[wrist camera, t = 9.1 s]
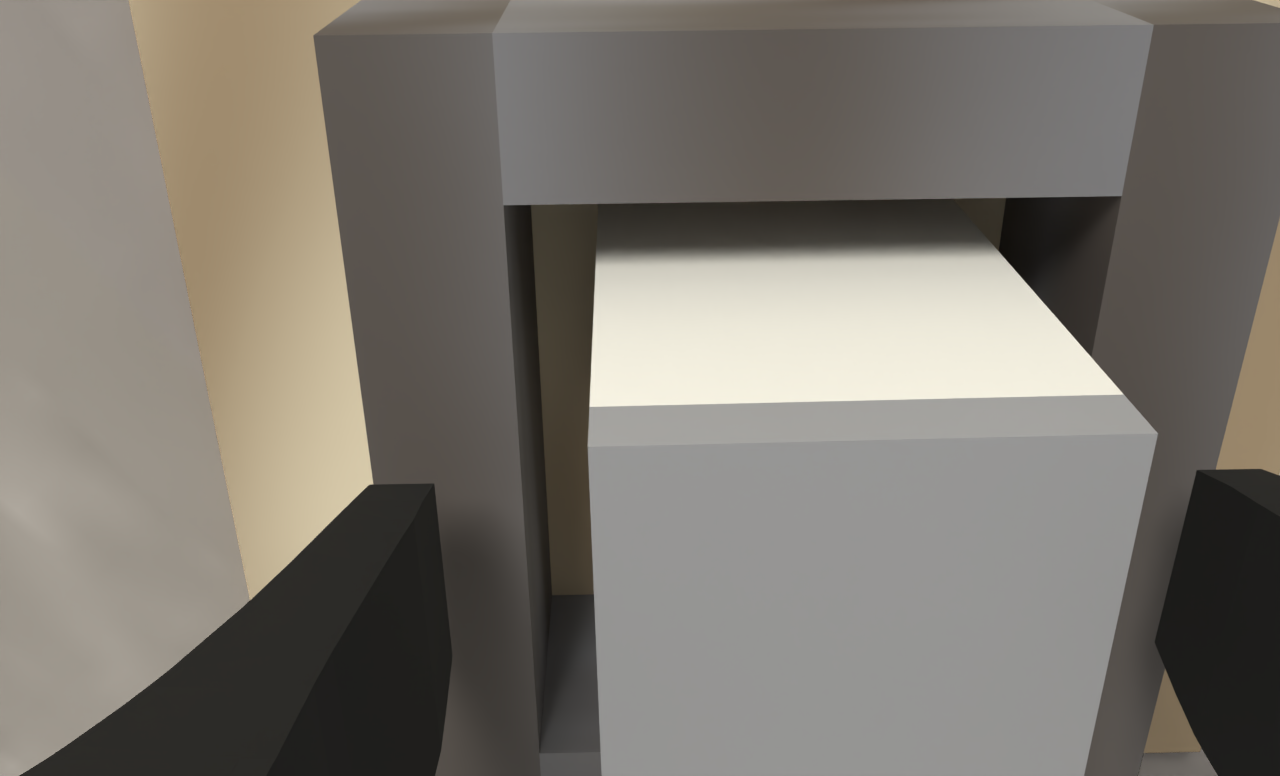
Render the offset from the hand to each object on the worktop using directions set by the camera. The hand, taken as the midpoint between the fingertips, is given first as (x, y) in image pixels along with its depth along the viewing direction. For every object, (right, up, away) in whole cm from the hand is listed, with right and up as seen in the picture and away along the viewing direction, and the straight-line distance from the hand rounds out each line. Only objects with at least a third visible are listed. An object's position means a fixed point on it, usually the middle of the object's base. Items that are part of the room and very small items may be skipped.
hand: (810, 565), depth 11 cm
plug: (0, +2, +4) cm, 4 cm away
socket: (0, +2, +4) cm, 4 cm away
